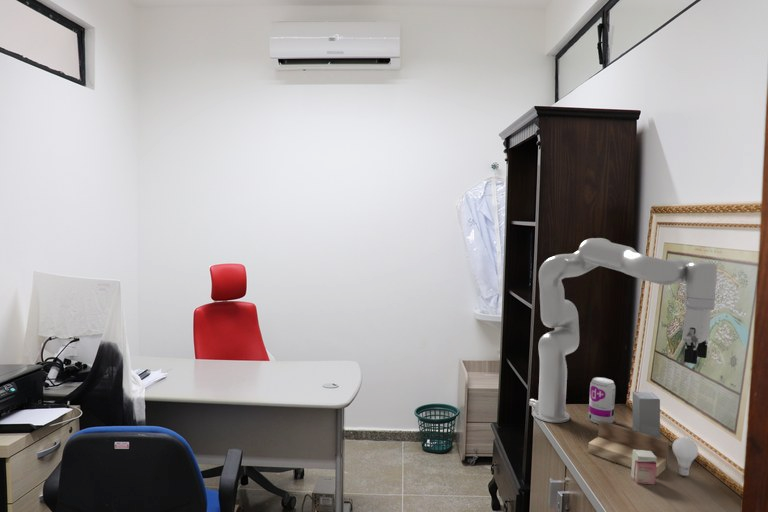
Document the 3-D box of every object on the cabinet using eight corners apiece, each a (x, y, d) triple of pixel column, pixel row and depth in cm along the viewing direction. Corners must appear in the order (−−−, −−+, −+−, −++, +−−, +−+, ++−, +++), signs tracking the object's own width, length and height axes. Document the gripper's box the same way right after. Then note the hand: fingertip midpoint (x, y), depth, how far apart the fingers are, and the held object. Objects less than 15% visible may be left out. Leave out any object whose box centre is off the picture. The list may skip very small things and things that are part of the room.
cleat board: (587, 452, 159) (589, 427, 158) (599, 444, 164) (600, 420, 164) (656, 476, 144) (658, 449, 144) (667, 467, 150) (668, 440, 149)
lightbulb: (666, 469, 148) (668, 433, 148) (688, 470, 148) (690, 433, 147) (677, 481, 142) (680, 442, 141) (701, 481, 142) (703, 443, 141)
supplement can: (602, 427, 178) (604, 385, 177) (583, 418, 185) (585, 378, 184) (618, 423, 182) (620, 382, 181) (599, 415, 189) (601, 375, 188)
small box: (636, 483, 140) (638, 456, 140) (630, 475, 145) (632, 449, 144) (655, 485, 140) (657, 457, 139) (649, 477, 144) (651, 450, 143)
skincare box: (660, 448, 162) (663, 400, 161) (636, 445, 164) (639, 398, 163) (652, 437, 171) (655, 391, 169) (629, 435, 172) (632, 389, 171)
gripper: (693, 298, 159) (690, 352, 161) (675, 304, 147) (672, 362, 149) (721, 302, 154) (717, 357, 155) (705, 308, 142) (701, 368, 143)
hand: (695, 359), depth 152 cm, fingers open, 9 cm apart
